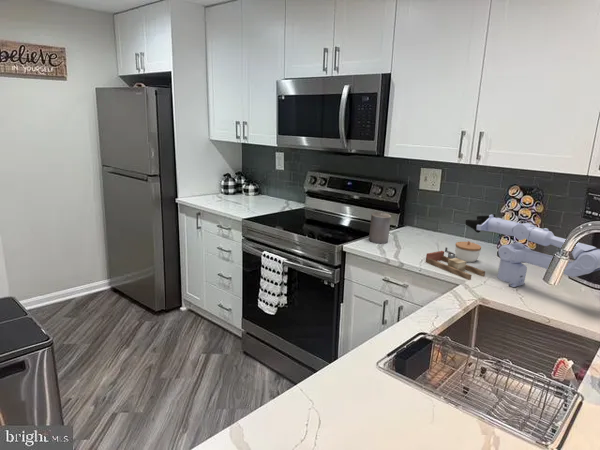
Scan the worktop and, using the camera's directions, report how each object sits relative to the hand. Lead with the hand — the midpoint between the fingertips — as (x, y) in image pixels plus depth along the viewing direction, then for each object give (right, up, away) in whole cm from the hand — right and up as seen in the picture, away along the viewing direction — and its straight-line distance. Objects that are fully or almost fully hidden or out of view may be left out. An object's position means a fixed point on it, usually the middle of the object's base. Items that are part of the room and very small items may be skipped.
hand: (471, 220), depth 183 cm
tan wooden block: (-8, -21, -4) cm, 22 cm away
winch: (-7, -18, +9) cm, 22 cm away
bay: (-9, -21, -2) cm, 23 cm away
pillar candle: (-33, -10, +35) cm, 49 cm away
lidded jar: (+2, -19, +11) cm, 22 cm away
